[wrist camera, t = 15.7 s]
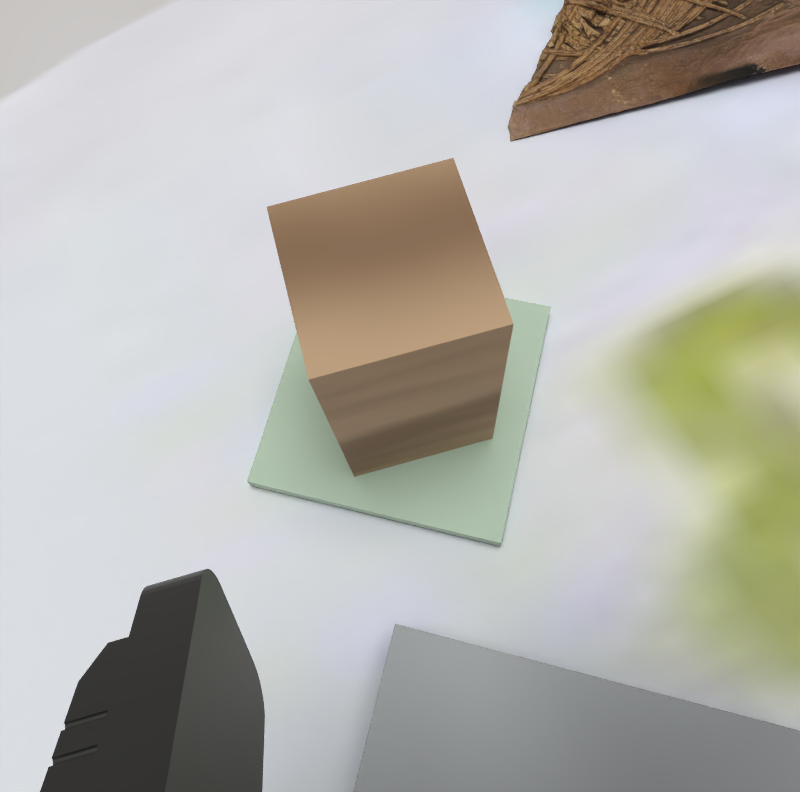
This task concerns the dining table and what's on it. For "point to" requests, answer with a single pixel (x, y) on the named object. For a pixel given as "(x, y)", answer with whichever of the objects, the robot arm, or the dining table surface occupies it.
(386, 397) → the walnut block
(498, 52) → the dining table surface
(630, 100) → the wooden fragment
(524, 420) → the mat
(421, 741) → the gray square slab
